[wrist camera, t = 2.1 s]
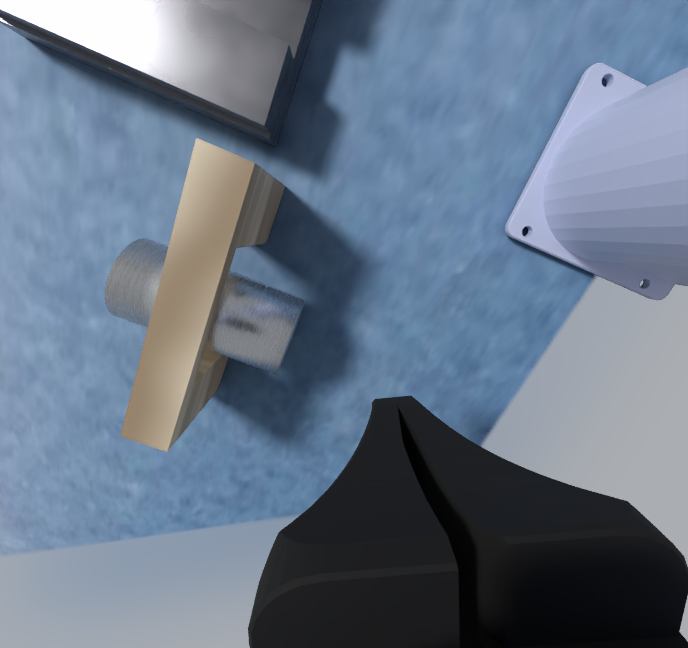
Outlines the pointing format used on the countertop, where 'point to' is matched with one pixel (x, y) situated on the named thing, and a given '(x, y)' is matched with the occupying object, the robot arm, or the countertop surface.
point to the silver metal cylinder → (232, 313)
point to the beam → (196, 291)
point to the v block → (185, 50)
